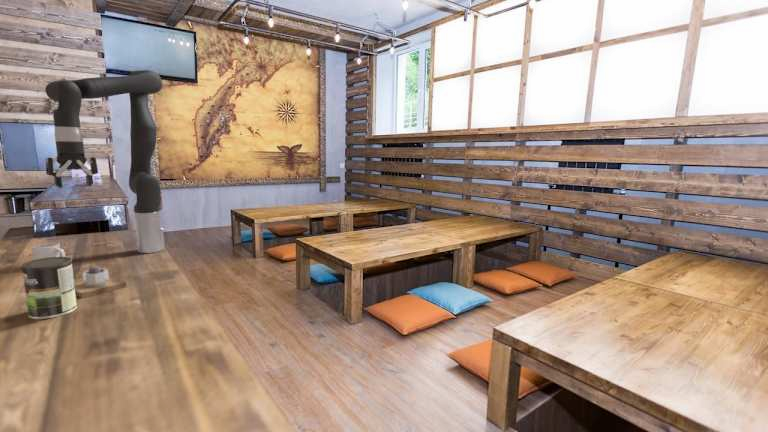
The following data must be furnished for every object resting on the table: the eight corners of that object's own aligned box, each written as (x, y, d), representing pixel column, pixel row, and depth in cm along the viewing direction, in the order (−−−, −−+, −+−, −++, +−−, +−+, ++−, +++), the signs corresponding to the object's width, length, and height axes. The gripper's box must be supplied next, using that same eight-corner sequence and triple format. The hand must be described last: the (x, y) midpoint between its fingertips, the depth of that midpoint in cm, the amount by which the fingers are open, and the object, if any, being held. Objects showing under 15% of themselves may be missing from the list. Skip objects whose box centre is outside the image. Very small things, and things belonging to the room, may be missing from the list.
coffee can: (39, 323, 98) (31, 270, 96) (21, 314, 103) (13, 263, 100) (85, 308, 107) (79, 260, 105) (66, 301, 112) (60, 254, 109)
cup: (75, 263, 147) (72, 243, 146) (55, 269, 139) (52, 248, 138) (49, 262, 148) (46, 242, 147) (28, 268, 140) (25, 247, 139)
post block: (109, 279, 131) (107, 260, 130) (126, 286, 124) (124, 267, 123) (66, 289, 121) (63, 269, 120) (81, 298, 114) (79, 277, 113)
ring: (103, 279, 126) (102, 267, 126) (111, 282, 123) (110, 270, 123) (81, 284, 121) (80, 272, 121) (89, 288, 118) (88, 275, 118)
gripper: (89, 140, 142) (93, 184, 145) (39, 139, 130) (45, 187, 133) (97, 141, 138) (102, 186, 141) (47, 139, 126) (53, 189, 129)
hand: (74, 186), depth 137 cm, fingers open, 8 cm apart
